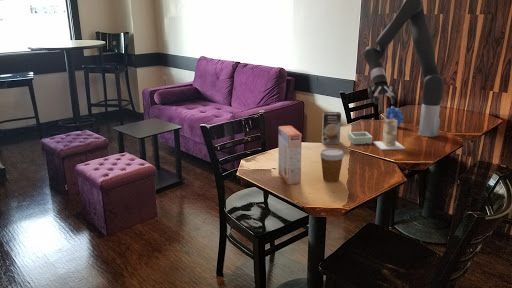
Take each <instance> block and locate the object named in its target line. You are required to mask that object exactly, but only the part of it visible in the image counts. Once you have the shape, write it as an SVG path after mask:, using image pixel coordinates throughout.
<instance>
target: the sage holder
mask: <svg viewBox="0 0 512 288" xmlns="http://www.w3.org/2000/svg"><path fill="white" fill-rule="evenodd" d="M347 139H348V140H349V141H350V142H351V143H352V145H360V144H363V145H365V144H366V143H367V144H373V136H372V135H371V134H370V133H369V132H367V131H353V132H352V131H350V132H349V131H348V135H347Z"/></svg>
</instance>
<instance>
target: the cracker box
mask: <svg viewBox="0 0 512 288" xmlns="http://www.w3.org/2000/svg"><path fill="white" fill-rule="evenodd" d="M277 131H278V166H277V167H278V170H277V171H278V175H280V177H281V178H282V180H284V181H285V183H286V185H298V184H301V183H302V182H301V181H302V140H303V139H302V138H303V137H302V136H303V135H302V133H300V131H299V130H297V129H296V128H295V127H294V126H293V125H281V126H278V130H277Z"/></svg>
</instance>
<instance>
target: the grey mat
mask: <svg viewBox="0 0 512 288" xmlns="http://www.w3.org/2000/svg"><path fill="white" fill-rule="evenodd" d="M372 144H374V145H375V146H376V147H377V148H378V149H379V150H381V151H382V150H383V151H385V150H405V149H406V147H405V146H403V144H401V143H399V142H398V141H397V140H396V145H395V146H385V145H384V144H382V141H379V140H378V141H372Z"/></svg>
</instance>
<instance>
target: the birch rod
mask: <svg viewBox="0 0 512 288" xmlns="http://www.w3.org/2000/svg"><path fill="white" fill-rule="evenodd" d="M397 122H398V121H397V120H395V119H387V118H384V119H383V127H382V129H383V130H382V139H381V140H382V144H384V145H385V146H395V145H396V141H397V133H398V132H397V131H398V126H397Z"/></svg>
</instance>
